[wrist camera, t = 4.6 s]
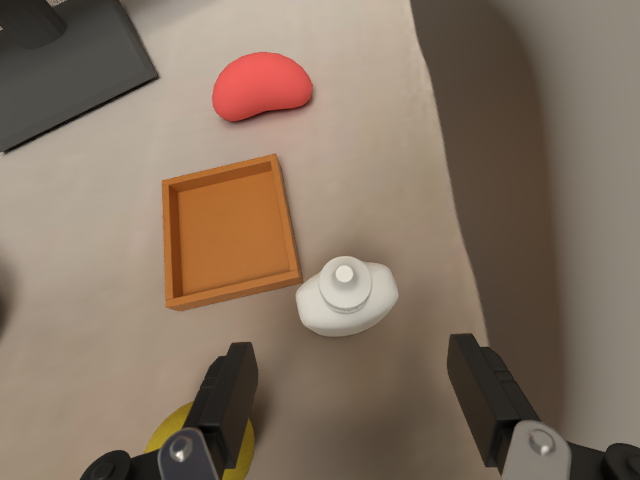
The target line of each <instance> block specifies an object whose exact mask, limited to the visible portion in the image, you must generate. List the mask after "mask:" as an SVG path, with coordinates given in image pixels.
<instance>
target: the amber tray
mask: <svg viewBox="0 0 640 480" xmlns="http://www.w3.org/2000/svg"><path fill="white" fill-rule="evenodd" d="M162 199H163V231H164V263H165V295H166V308H169V309H173V310H177V311H182V310H187V309H191V308H196V307H200V306H204V305H209V304H213V303H217V302H222V301H226V300H230V299H235V298H239V297H243V296H248V295H252V294H257V293H261V292H265V291H270V290H274V289H278V288H283V287H287V286H291V285H296V284H300V283H303V279H302V274H301V269H300V264H299V259H298V254H297V248H296V243H295V238H294V233H293V228H292V223H291V217H290V212H289V207H288V202H287V197H286V192H285V186H284V181H283V176H282V171H281V166H280V164H279V161H278V158H277V156H276V154H272V155H268V156H264V157H260V158H255V159H251V160H247V161H243V162H238V163H234V164H230V165H226V166H221V167H217V168H213V169H209V170H205V171H200V172H196V173H192V174H188V175H183V176H179V177H175V178H171V179H167V180H162Z"/></svg>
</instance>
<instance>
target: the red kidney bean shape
mask: <svg viewBox="0 0 640 480" xmlns="http://www.w3.org/2000/svg"><path fill="white" fill-rule="evenodd" d="M312 86H313V85H312V83H311V80H310V78H309V76H308V74H307V73H306V72H305V71H304V69H303V68H302V67H301V66H300V65H298V64H297V63H296V62H295V61H293V60H292V59H290V58H288V57H285V56H283V55H280V54H276V53H268V52H259V53H252V54H248V55H245V56H242V57H240V58H238V59H237V60H235V61H233V62H232V63H230V64H229V65H228V66H227V67H226V68H225V69H224V70H223V71H222V72H221V73H220V75H219V77H218V79H217V81H216V83H215V85H214V89H213V95H212V101H213V107H214V109H215V111H216V113H217V114H218V115H219V116H221V117H222V118H224V119H226V120H228V121H238V120H242V119H245V118H248V117H251V116H253V115H256V114H259V113H261V112H264V111H268V110H277V109H287V108H295V107H300V106H302V105H304V104H305V103H306V102H307V101H308V100H309V98H310V97H311V94H312Z"/></svg>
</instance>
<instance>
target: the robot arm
mask: <svg viewBox="0 0 640 480" xmlns="http://www.w3.org/2000/svg"><path fill="white" fill-rule="evenodd" d="M447 370H448V375H449V379H450V381H451V384H452V386H453V389H454V391H455V394H456V396H457V398H458V401H459V403H460V406H461V408H462V411H463V413H464V416H465V418H466V421H467V423H468V425H469V428H470V430H471V433H472V435H473V438H474V440H475V443H476V445H477V448H478V450H479V452H480V455H481V457H482V460H483V462H484V465H485V467H497V468H498V471H499V473H500V475H501V480H640V448H638V447H635V446H632V445H629V444H623V443H615V444H612V445H610V446H609V447H608V448H607V450H606V452H602V451H598V450H595V449H591V448H587V447H584V446H580V445H576V444H573V443H570V442H568V441H566V440H565V439H564V438H563V437H562V436H561V435H560V434H559V433H558V432H557V431H556V430H555V429H553V428H551V427H550V426H548V425H546V424H544V423H542V421H541V420H540V419H539V417H538V415H537V414H536V412H535V411H534V409H533V408H532V406H531V404H530V403H529V401H528V400H527V398H526V397H525V395H524V393H523V392H522V390H521V389H520V387H519V386H518V384H517V382H516V381H514V378H513V376H512V375H511V373H510V371H508V368H507V367H506V365H505V364H504V362H503V360H502V359H501V357H500V356H499V355H498V354H496V353H495V352H494V351H493V350H491V349H490V348H489V347H480V346H479V344H478V343H477V341H476V339H475V337H474V336H473V335H472V334H471V333H466V334H451V335H450V338H449V348H448V357H447ZM257 384H258V367H257V363H256V359H255V354H254V350H253V346H252V343H251V342H237V343H232V344H231V346H230V348H229V350H228V353H227V355H226V356H219V357H218V358H217V359H216V360H215V361H214V362H213V364H212V365H211V366H210V367H209V369H208V371H207V373H206V376H205V378H204V380H203V382H202V384H201V387H200V390H199V391H198V393H197V395H196V398H195V400H194V402H193V404H192V406H191V409H190V411H189V413H188V415H187V417H186V420H185V422H184V424H183V426H182V428H181V430H179V431H177V432H175V433H174V434H172V435H171V436H170V437H169V438H168V439H167V440H166V441H165V442H164V443H163V445H162V447H161V448H159V449H156V450H154V451H151V452H148V453H145V454H142V455H139V456H136V457H133V458H130V456H129V454H128V453H127V452H125V451H123V450H115V451H111V452H109V453H106V454H104V455H103V456H101V457H100V458H98V459H97V460H96V461H94V462H93V463H92V464H91V465H90V466H89V467H88V468H87V469H86V471H85V472H84V474H83V475H82V477H81V478H80V480H222V478H223V474H224V471H225V469H235V468H236V464H237V460H238V457H239V453H240V449H241V445H242V441H243V438H244V434H245V430H246V426H247V422H248V418H249V415H250V411H251V407H252V403H253V399H254V396H255V392H256V388H257Z"/></svg>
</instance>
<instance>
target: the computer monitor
mask: <svg viewBox="0 0 640 480" xmlns="http://www.w3.org/2000/svg"><path fill="white" fill-rule="evenodd" d="M0 26H1V27H2V28H3V30H1V31H0V152H3V151H5V150H7V149H10V148H12V147H14V146H16V145H18V144H20V143H22V142H24V141H26V140H28V139H30V138H32V137H34V136H36V135H38V134H40V133H42V132H44V131H46V130H48V129H50V128H53V127H55V126H57V125H59V124H61V123H63V122H65V121H67V120H69V119H71V118H73V117H75V116H77V115H79V114H81V113H83V112H85V111H87V110H89V109H91V108H93V107H95V106H97V105H99V104H102V103H104V102H106V101H108V100H110V99H112V98H114V97H116V96H118V95H120V94H122V93H124V92H126V91H128V90H130V89H132V88H134V87H136V86H138V85H140V84H142V83H144V82H146V81H148V80H151V79H153V78H154V77H156V76H157V73H156V71H155V69H154V67H153V65H152V64H151V62H150V60H149V58H148V56H147V54H146V52H145V50H144V48H143V46H142V44H141V42H140V40H139V38H138V37H137V35H136V33H135V31H134V29H133V27H132V25H131V23H130V21H129V19H128V17H127V15H126V13H125V12H124V10H123V8H122V6H121V4H120V2H119V0H67V1H65V2H63V3H61V4H58V5H56V6H54V7H51V6H50V5H49V3H48V2H47V1H46V0H0Z"/></svg>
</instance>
